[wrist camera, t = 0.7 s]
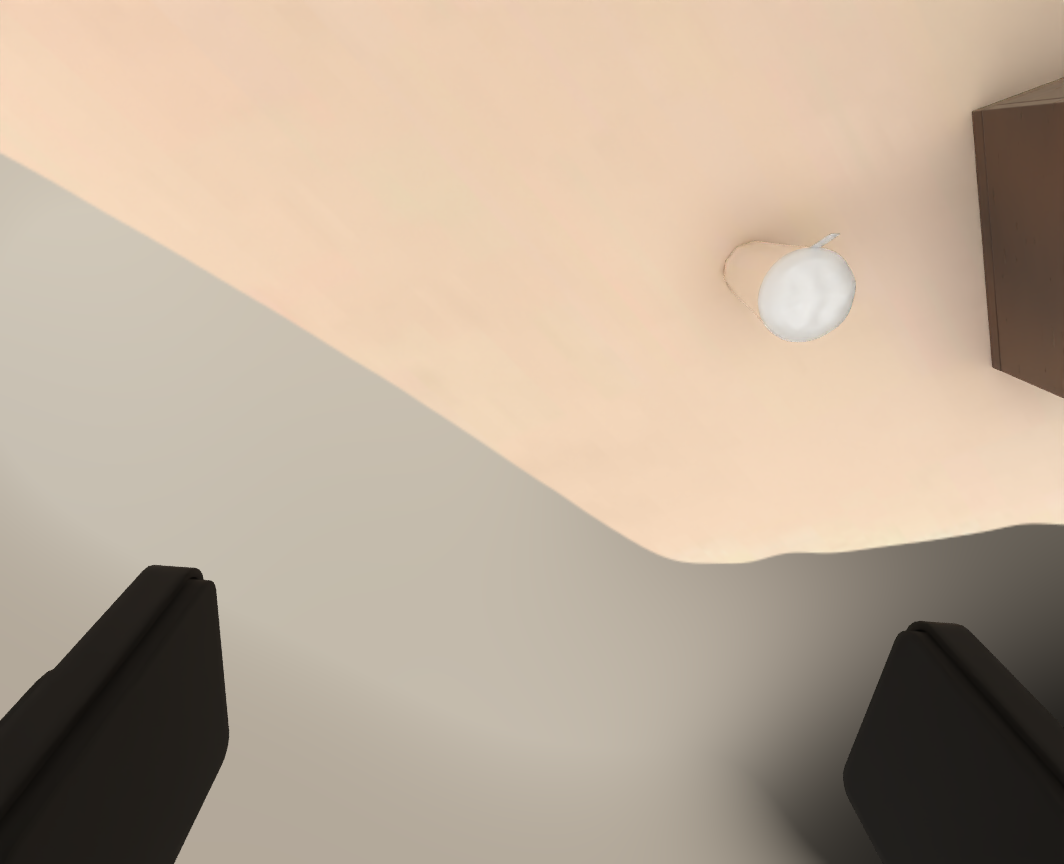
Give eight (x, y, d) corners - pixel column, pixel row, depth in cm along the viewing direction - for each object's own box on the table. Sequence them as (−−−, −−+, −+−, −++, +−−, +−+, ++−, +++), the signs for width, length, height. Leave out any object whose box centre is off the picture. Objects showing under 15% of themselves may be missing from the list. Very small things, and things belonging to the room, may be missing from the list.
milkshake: (796, 214, 37) (887, 233, 28) (782, 306, 40) (864, 352, 30) (717, 214, 37) (784, 234, 28) (708, 307, 39) (767, 353, 30)
